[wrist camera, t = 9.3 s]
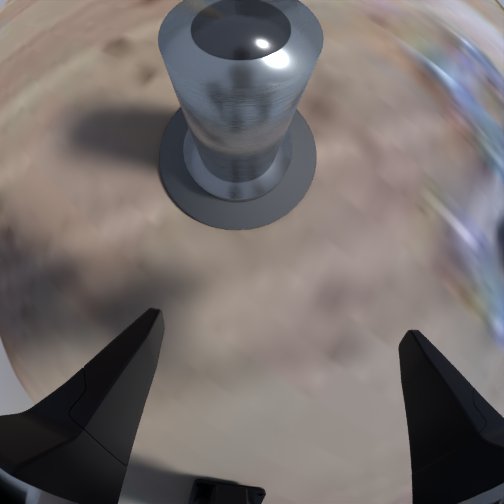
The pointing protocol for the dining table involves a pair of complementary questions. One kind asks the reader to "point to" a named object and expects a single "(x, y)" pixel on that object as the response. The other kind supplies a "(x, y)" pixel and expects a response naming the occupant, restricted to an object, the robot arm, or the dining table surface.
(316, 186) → the dining table surface
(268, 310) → the dining table surface
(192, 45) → the grey metal flared cylinder
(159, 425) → the dining table surface
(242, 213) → the rubber pad
